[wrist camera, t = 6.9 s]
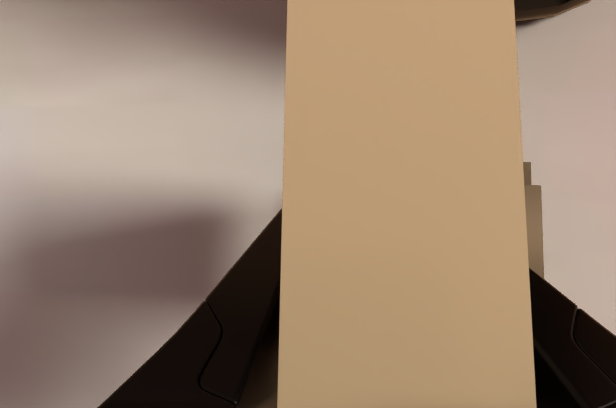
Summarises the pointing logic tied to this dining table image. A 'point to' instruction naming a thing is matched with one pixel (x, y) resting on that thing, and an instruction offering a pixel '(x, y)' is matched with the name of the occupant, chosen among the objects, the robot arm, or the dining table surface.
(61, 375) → the dining table surface
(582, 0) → the amphora vase
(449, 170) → the tan rectangular block
